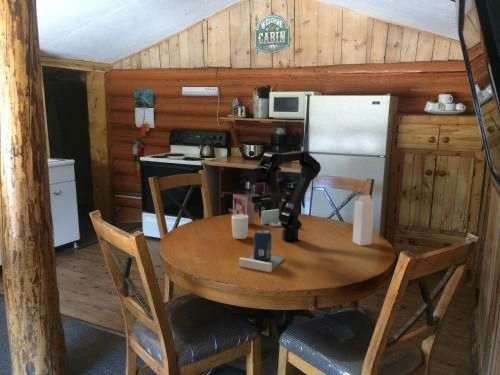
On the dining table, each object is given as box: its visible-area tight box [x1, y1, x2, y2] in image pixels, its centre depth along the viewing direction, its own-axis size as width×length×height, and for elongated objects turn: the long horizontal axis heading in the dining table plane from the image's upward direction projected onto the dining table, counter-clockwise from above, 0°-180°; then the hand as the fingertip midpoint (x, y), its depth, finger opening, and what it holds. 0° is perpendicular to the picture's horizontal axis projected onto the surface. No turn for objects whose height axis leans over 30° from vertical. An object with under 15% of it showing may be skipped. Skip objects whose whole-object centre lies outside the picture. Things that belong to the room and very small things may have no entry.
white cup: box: [231, 214, 249, 240], centre depth 194 cm, size 8×8×10 cm
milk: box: [352, 194, 375, 246], centre depth 186 cm, size 6×6×22 cm
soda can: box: [253, 228, 272, 262], centre depth 163 cm, size 7×7×12 cm
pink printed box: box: [232, 193, 255, 225], centre depth 216 cm, size 11×7×15 cm, turn 40°
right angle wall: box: [260, 208, 282, 228], centre depth 213 cm, size 12×12×8 cm
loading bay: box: [238, 253, 285, 273], centre depth 163 cm, size 15×13×3 cm
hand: (270, 216), depth 181 cm, fingers open, 9 cm apart
